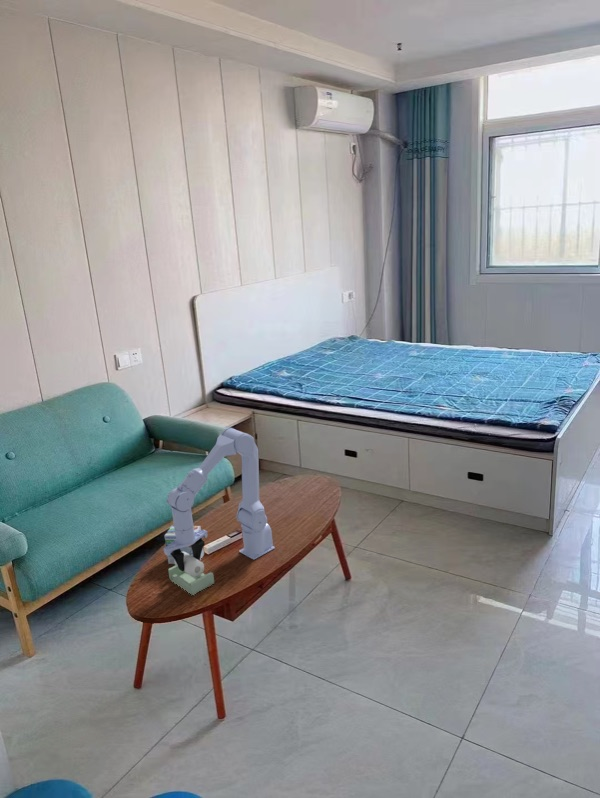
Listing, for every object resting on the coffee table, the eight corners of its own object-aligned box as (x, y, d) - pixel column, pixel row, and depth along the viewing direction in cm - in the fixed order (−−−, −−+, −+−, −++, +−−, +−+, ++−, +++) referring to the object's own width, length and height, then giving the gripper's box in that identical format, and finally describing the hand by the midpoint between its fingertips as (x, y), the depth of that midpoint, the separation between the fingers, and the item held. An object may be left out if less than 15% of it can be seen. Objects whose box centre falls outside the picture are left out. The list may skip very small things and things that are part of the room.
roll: (174, 569, 183) (173, 554, 182) (188, 563, 187) (187, 549, 186) (191, 580, 177) (190, 565, 176) (205, 573, 180) (203, 559, 179)
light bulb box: (167, 564, 194) (163, 535, 191) (174, 553, 201) (170, 525, 197) (198, 564, 192) (194, 535, 189) (204, 553, 199) (201, 525, 196)
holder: (169, 580, 185) (168, 569, 184) (191, 569, 190) (189, 558, 189) (192, 596, 176) (191, 584, 175) (214, 584, 181) (213, 572, 180)
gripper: (196, 513, 185) (201, 551, 189) (156, 531, 176) (162, 571, 180) (209, 520, 180) (214, 559, 184) (168, 539, 171) (174, 579, 175)
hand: (189, 565), depth 181 cm, fingers closed on roll, 5 cm apart
